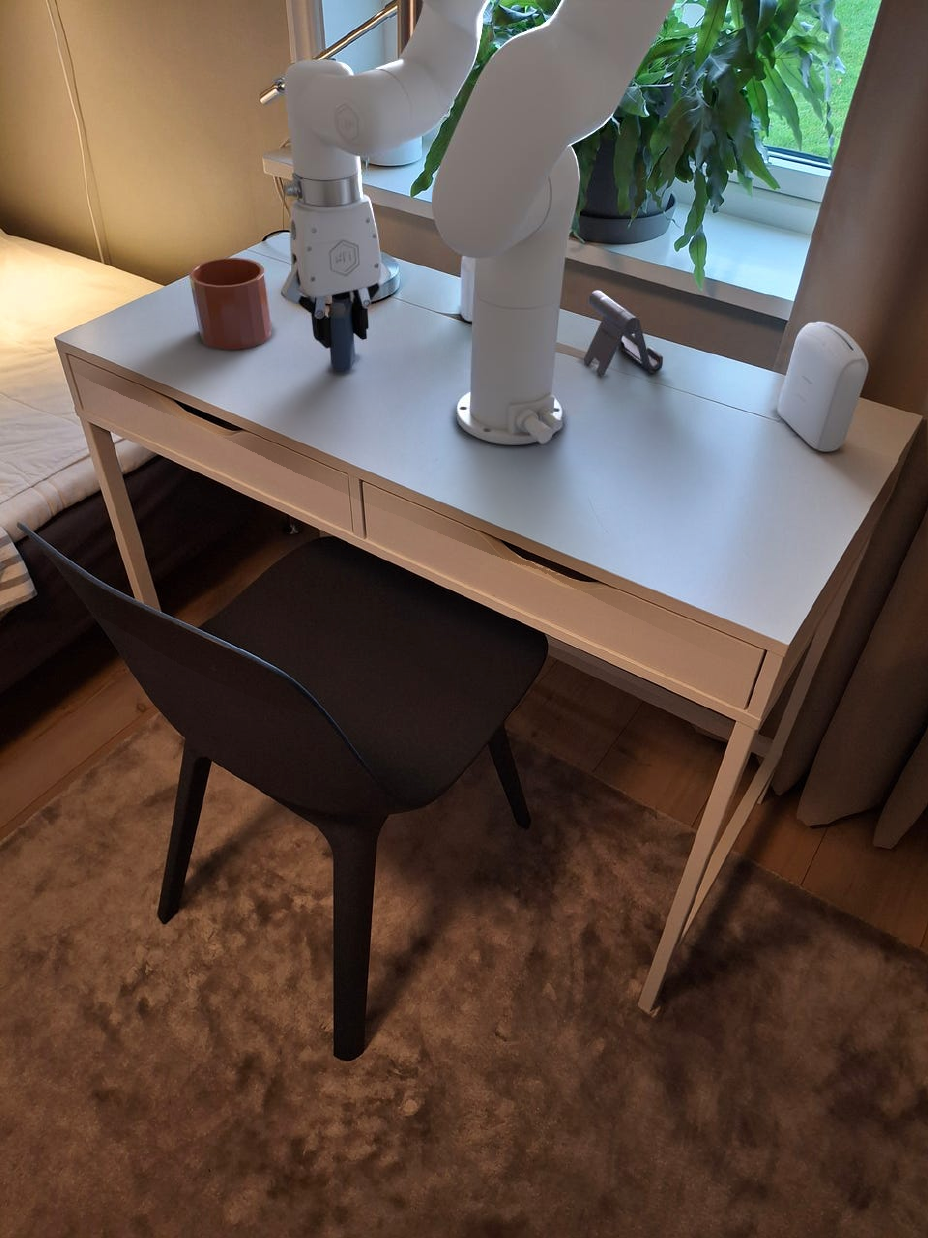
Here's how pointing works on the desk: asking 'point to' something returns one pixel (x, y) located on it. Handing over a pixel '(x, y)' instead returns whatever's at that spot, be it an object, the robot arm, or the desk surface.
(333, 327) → the vaping device
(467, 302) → the eye dropper bottle
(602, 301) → the tablet stand
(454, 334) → the desk surface
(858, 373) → the photo printer
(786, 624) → the desk surface
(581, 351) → the desk surface
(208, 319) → the pen cup
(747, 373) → the desk surface
